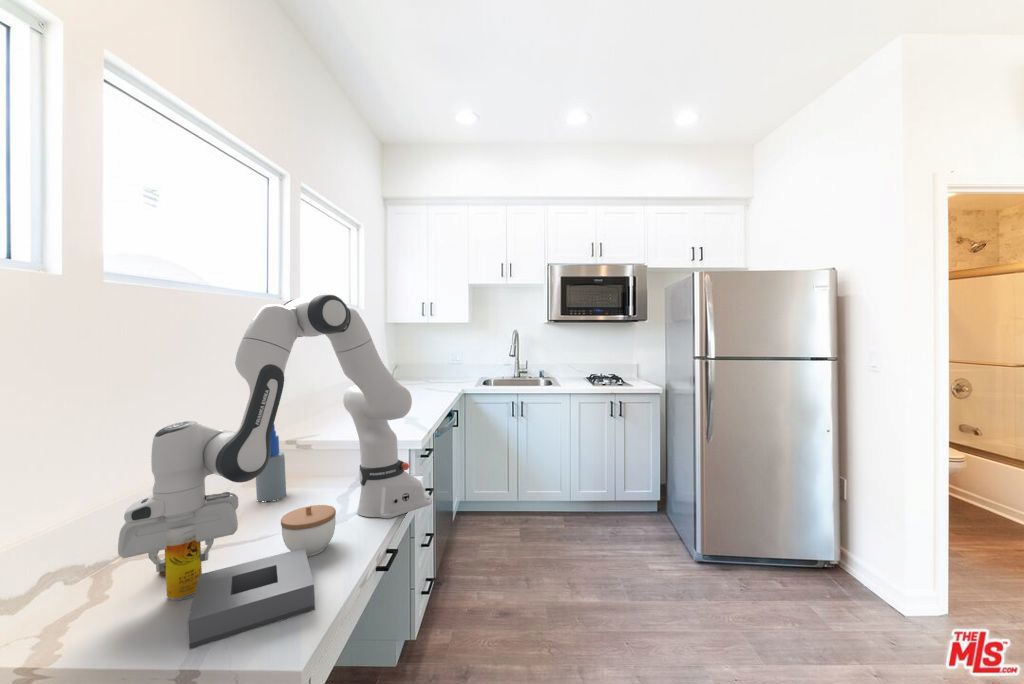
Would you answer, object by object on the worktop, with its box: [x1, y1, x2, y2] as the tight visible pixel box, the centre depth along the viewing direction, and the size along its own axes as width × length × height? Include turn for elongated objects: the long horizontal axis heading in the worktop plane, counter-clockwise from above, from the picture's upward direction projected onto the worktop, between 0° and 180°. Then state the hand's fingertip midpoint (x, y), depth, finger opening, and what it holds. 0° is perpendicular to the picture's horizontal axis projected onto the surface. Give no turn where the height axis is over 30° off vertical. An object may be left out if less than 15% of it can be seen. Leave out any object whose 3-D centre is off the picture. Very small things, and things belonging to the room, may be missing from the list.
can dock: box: [187, 548, 316, 650], centre depth 90 cm, size 20×18×5 cm
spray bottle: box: [255, 423, 287, 503], centre depth 152 cm, size 9×9×25 cm
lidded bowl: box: [280, 504, 337, 558], centre depth 112 cm, size 13×13×11 cm
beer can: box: [164, 524, 203, 602], centre depth 94 cm, size 6×6×15 cm
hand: (183, 565), depth 94 cm, fingers closed on beer can, 6 cm apart
